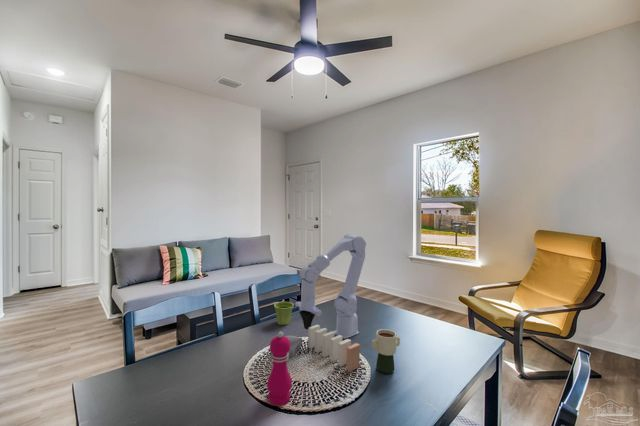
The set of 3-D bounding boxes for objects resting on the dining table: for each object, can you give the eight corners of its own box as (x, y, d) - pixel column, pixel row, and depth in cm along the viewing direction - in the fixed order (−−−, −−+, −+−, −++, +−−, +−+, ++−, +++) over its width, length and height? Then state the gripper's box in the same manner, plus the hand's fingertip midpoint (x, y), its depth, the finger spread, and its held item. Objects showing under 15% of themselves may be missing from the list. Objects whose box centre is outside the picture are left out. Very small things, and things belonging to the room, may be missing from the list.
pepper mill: (267, 391, 91) (269, 326, 90) (291, 390, 91) (292, 326, 91) (265, 407, 84) (266, 337, 83) (291, 406, 84) (292, 337, 84)
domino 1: (317, 343, 122) (317, 324, 122) (319, 345, 121) (320, 325, 121) (307, 347, 119) (308, 327, 119) (310, 348, 118) (310, 328, 118)
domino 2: (324, 347, 119) (324, 327, 119) (326, 348, 118) (327, 329, 118) (314, 351, 116) (315, 331, 116) (317, 352, 115) (317, 332, 115)
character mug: (393, 362, 109) (394, 327, 109) (404, 373, 102) (405, 335, 102) (366, 366, 106) (367, 330, 105) (376, 377, 99) (377, 339, 99)
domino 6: (355, 364, 107) (356, 342, 107) (359, 366, 106) (359, 344, 105) (346, 369, 104) (346, 347, 103) (349, 371, 102) (350, 348, 102)
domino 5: (347, 360, 110) (347, 338, 110) (350, 361, 109) (350, 340, 109) (337, 364, 107) (338, 342, 106) (340, 366, 105) (341, 344, 105)
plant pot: (297, 321, 144) (297, 304, 144) (284, 328, 136) (285, 309, 136) (282, 317, 149) (282, 300, 149) (269, 323, 141) (269, 305, 141)
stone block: (271, 361, 112) (296, 358, 110) (269, 348, 112) (294, 345, 110) (281, 347, 124) (304, 345, 122) (279, 335, 124) (302, 333, 122)
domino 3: (331, 351, 116) (331, 331, 116) (334, 353, 115) (334, 332, 115) (321, 355, 113) (322, 334, 113) (324, 357, 112) (325, 336, 111)
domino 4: (339, 355, 113) (339, 334, 113) (342, 357, 112) (342, 336, 112) (329, 360, 110) (330, 338, 110) (332, 361, 109) (333, 340, 108)
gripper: (289, 293, 126) (289, 325, 126) (312, 302, 115) (311, 337, 115) (303, 290, 130) (302, 320, 131) (325, 298, 119) (324, 332, 120)
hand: (307, 328), depth 123 cm, fingers closed
